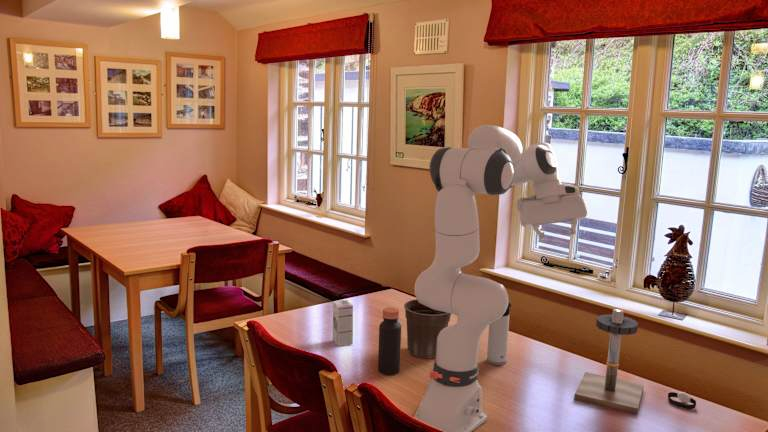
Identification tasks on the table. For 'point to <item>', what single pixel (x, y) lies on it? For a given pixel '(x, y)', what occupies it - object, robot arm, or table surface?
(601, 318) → the grey gear
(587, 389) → the stand
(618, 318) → the metallic rounded rod
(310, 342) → the table surface
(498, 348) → the travel mug
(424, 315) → the plant pot
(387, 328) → the bottle
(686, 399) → the watch
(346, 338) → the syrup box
